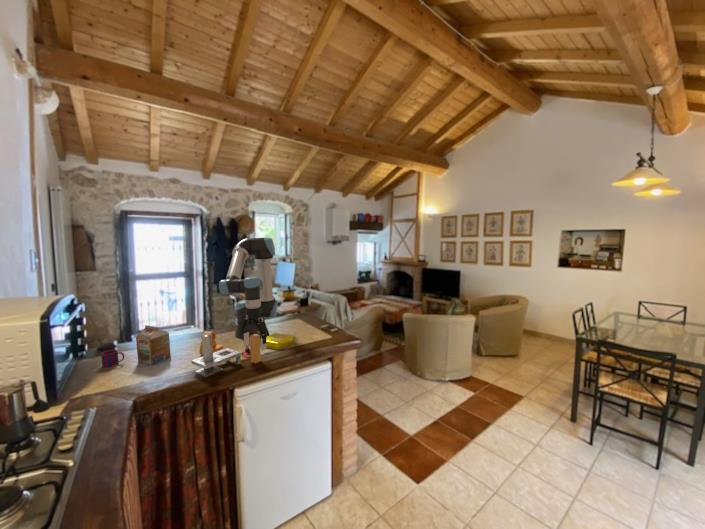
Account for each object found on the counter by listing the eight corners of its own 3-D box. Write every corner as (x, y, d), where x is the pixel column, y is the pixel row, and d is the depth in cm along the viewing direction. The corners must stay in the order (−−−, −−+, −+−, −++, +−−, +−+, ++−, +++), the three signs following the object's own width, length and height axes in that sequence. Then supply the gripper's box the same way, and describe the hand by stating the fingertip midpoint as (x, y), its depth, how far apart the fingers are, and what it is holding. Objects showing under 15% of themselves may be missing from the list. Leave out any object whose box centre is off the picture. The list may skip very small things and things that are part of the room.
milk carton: (138, 363, 159) (135, 328, 157) (157, 355, 169) (154, 322, 167) (151, 366, 155) (148, 330, 153) (170, 358, 165) (168, 324, 163)
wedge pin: (256, 359, 161) (255, 333, 160) (260, 360, 159) (259, 334, 158) (251, 361, 158) (249, 335, 157) (255, 363, 156) (254, 336, 155)
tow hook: (262, 355, 168) (253, 350, 174) (261, 332, 166) (252, 328, 172) (248, 360, 162) (239, 355, 168) (248, 336, 160) (238, 332, 166)
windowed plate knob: (227, 358, 162) (225, 326, 161) (241, 363, 156) (239, 329, 154) (192, 372, 147) (189, 336, 145) (206, 378, 140) (203, 340, 138)
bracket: (210, 356, 166) (209, 335, 165) (199, 355, 168) (198, 334, 167) (224, 349, 176) (222, 329, 175) (213, 348, 178) (212, 328, 177)
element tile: (294, 342, 188) (294, 334, 187) (279, 350, 174) (278, 342, 174) (275, 339, 194) (275, 331, 194) (258, 346, 181) (258, 339, 180)
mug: (109, 362, 161) (107, 350, 160) (128, 361, 161) (127, 349, 160) (98, 367, 154) (97, 354, 154) (118, 367, 154) (117, 354, 154)
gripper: (232, 305, 160) (234, 345, 161) (263, 311, 146) (265, 354, 147) (244, 303, 166) (246, 341, 168) (275, 308, 152) (277, 349, 154)
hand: (255, 347), depth 157 cm, fingers open, 13 cm apart
